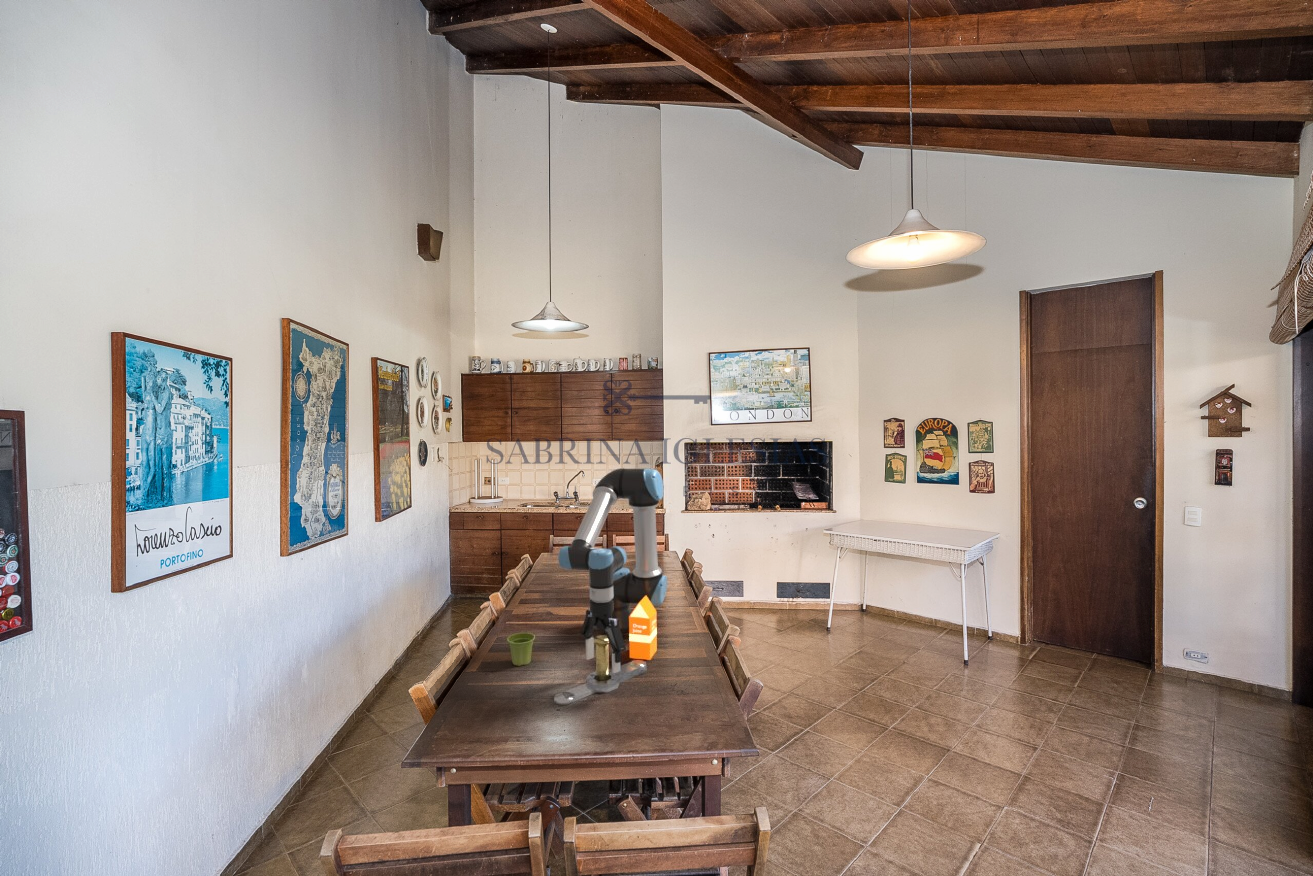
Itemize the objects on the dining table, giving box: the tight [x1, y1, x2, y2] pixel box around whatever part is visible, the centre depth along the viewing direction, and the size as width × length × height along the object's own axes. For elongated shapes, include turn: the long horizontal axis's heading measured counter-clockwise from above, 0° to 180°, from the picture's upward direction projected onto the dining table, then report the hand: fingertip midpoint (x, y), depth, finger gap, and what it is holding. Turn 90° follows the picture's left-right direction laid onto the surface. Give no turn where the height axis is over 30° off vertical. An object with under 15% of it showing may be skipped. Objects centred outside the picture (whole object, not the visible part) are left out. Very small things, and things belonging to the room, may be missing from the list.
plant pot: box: [506, 632, 536, 667], centre depth 204 cm, size 9×9×9 cm
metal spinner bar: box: [553, 659, 647, 706], centre depth 186 cm, size 35×10×2 cm, turn 133°
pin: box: [593, 634, 610, 681], centre depth 186 cm, size 5×5×15 cm
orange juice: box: [628, 596, 658, 661], centre depth 209 cm, size 8×9×20 cm
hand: (602, 665), depth 186 cm, fingers open, 13 cm apart
